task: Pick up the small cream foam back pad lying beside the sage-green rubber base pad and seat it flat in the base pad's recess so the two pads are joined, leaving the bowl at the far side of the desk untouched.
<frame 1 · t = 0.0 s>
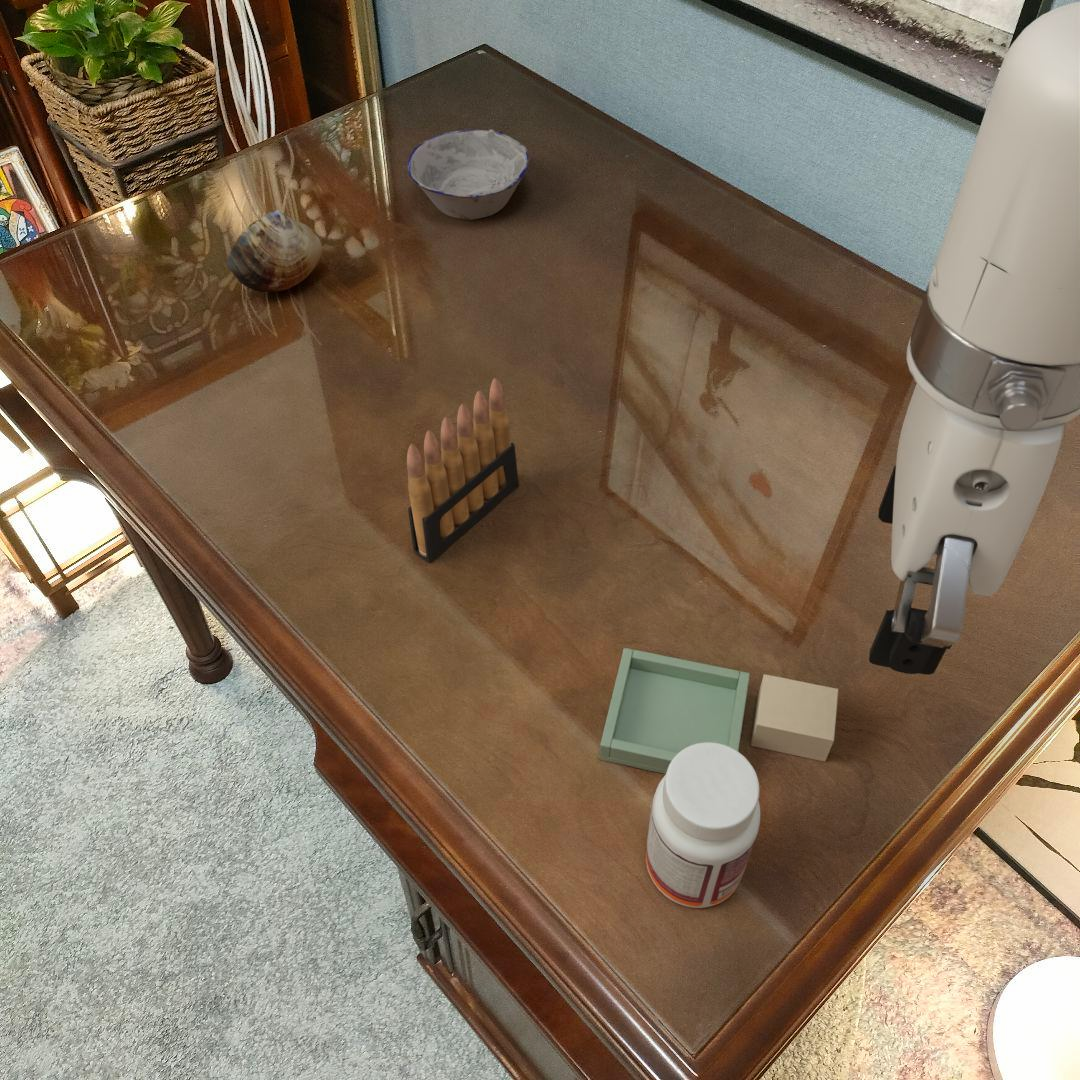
hand: (903, 589, 55), 18 cm above the table, tool pointing down, fingers open, 9 cm apart
ammunition clip: (467, 519, 83), on the table
pill bottle: (692, 863, 64), on the table
seashell: (284, 287, 103), on the table
bowl: (471, 200, 112), on the table
foam pad: (790, 728, 70), on the table
base pad: (674, 723, 71), on the table
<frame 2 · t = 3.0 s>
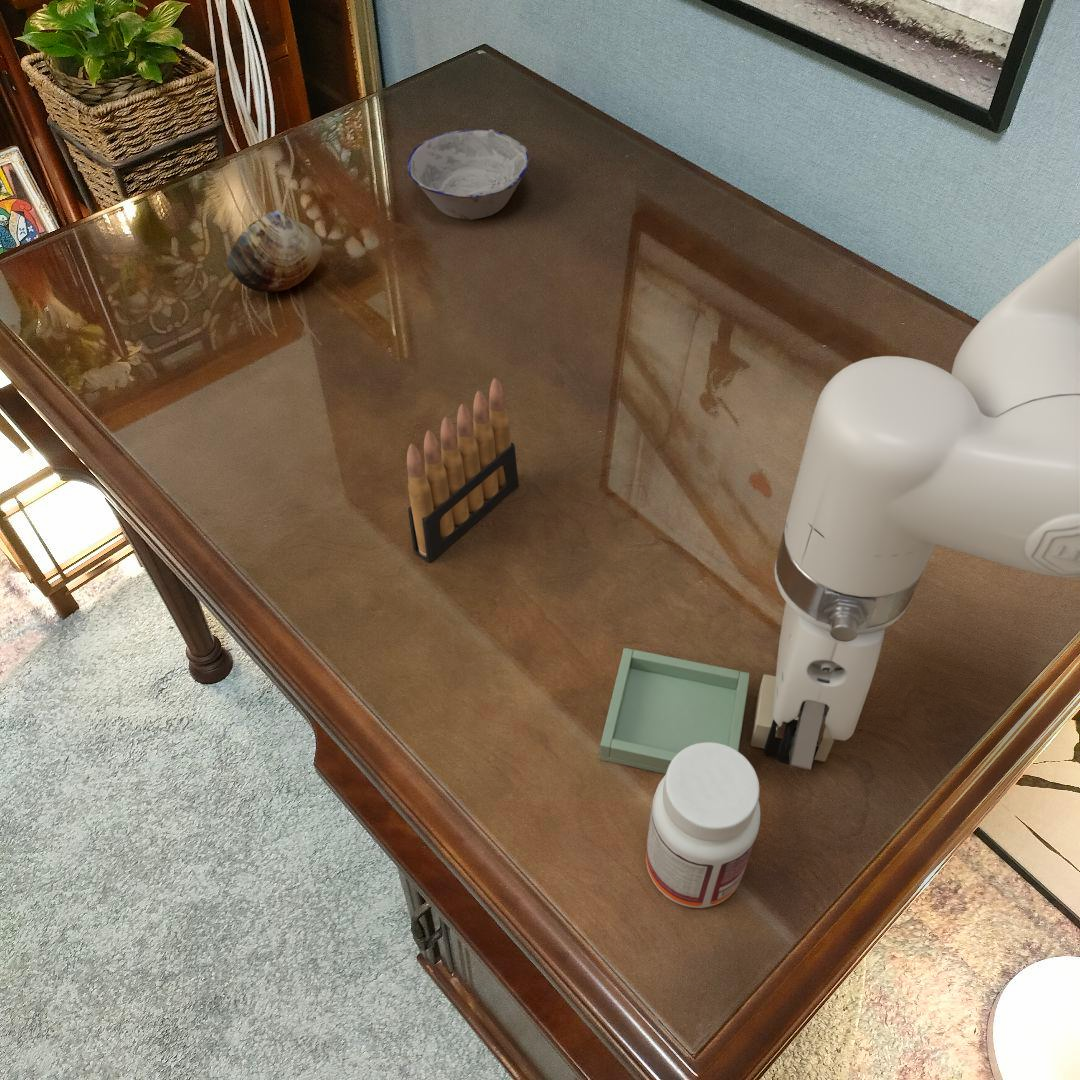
hand: (791, 724, 70), 1 cm above the table, tool pointing down, fingers closed on foam pad, 4 cm apart
foam pad: (790, 728, 70), on the table, touching gripper
everything else where it was.
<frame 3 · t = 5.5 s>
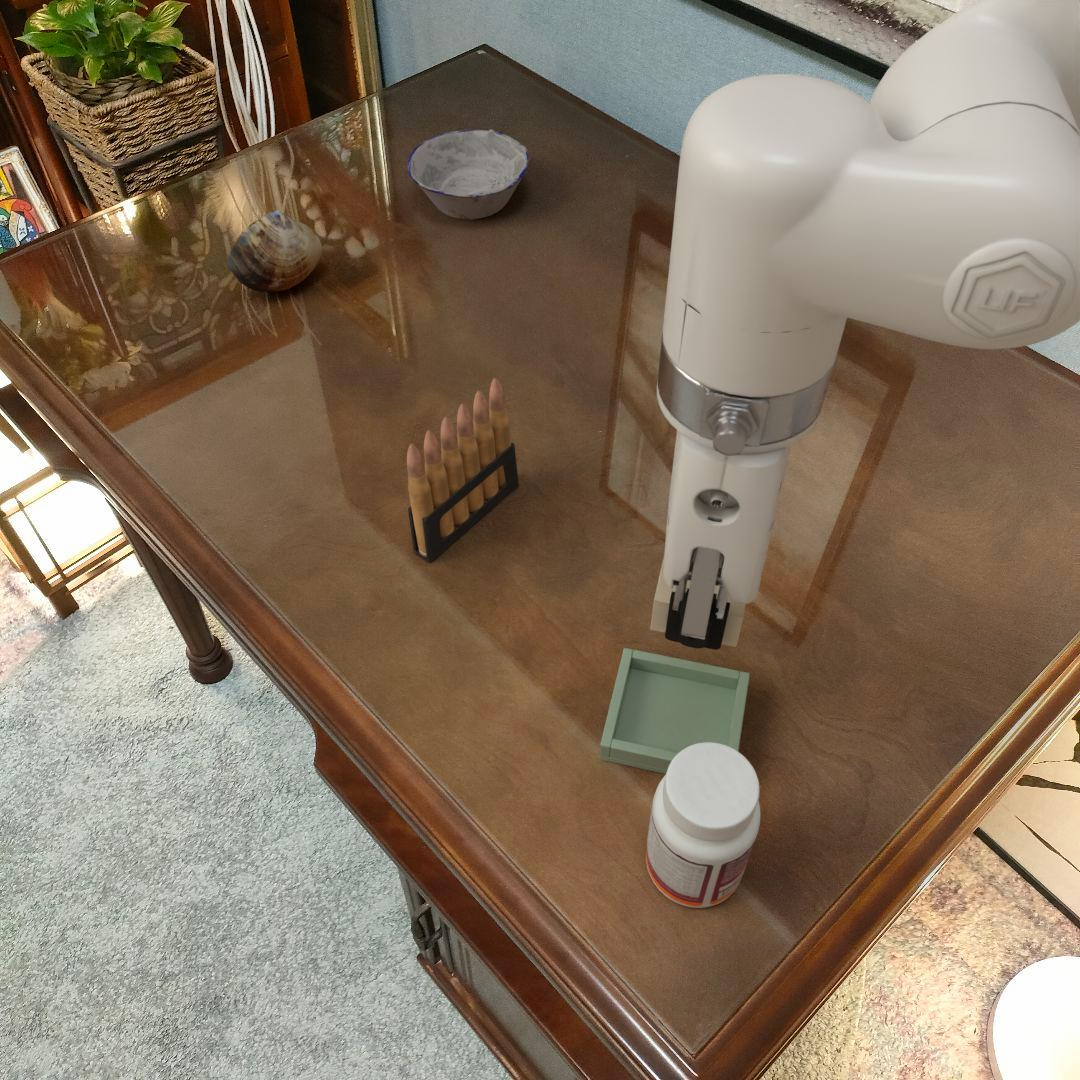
hand: (699, 606, 60), 14 cm above the table, tool pointing down, fingers closed on foam pad, 4 cm apart
foam pad: (698, 611, 60), point 13 cm above the table, touching gripper
everything else where it was.
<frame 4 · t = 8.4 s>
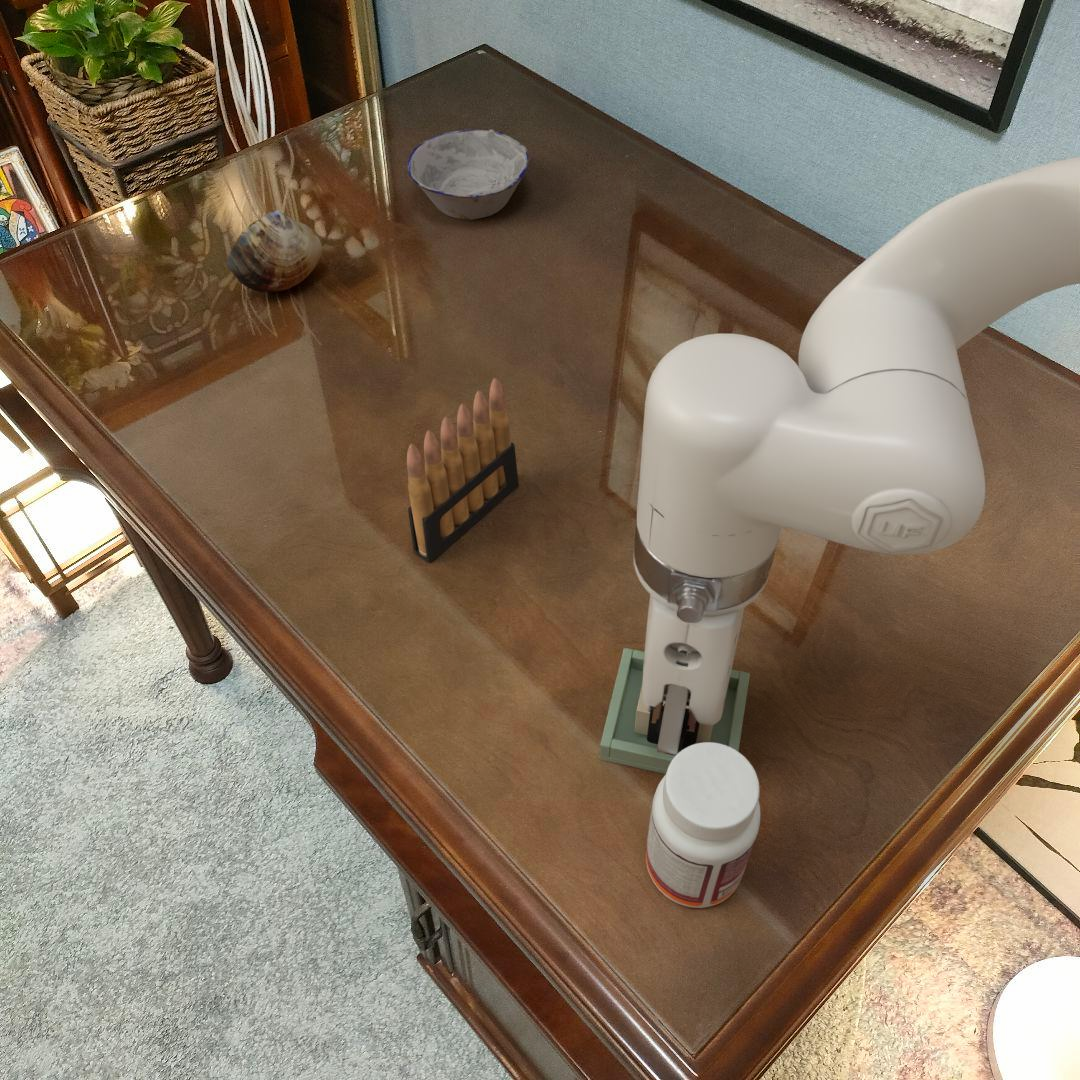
hand: (677, 711, 69), 2 cm above the table, tool pointing down, fingers closed on foam pad, 4 cm apart
foam pad: (675, 715, 70), point 1 cm above the table, touching gripper
everything else where it was.
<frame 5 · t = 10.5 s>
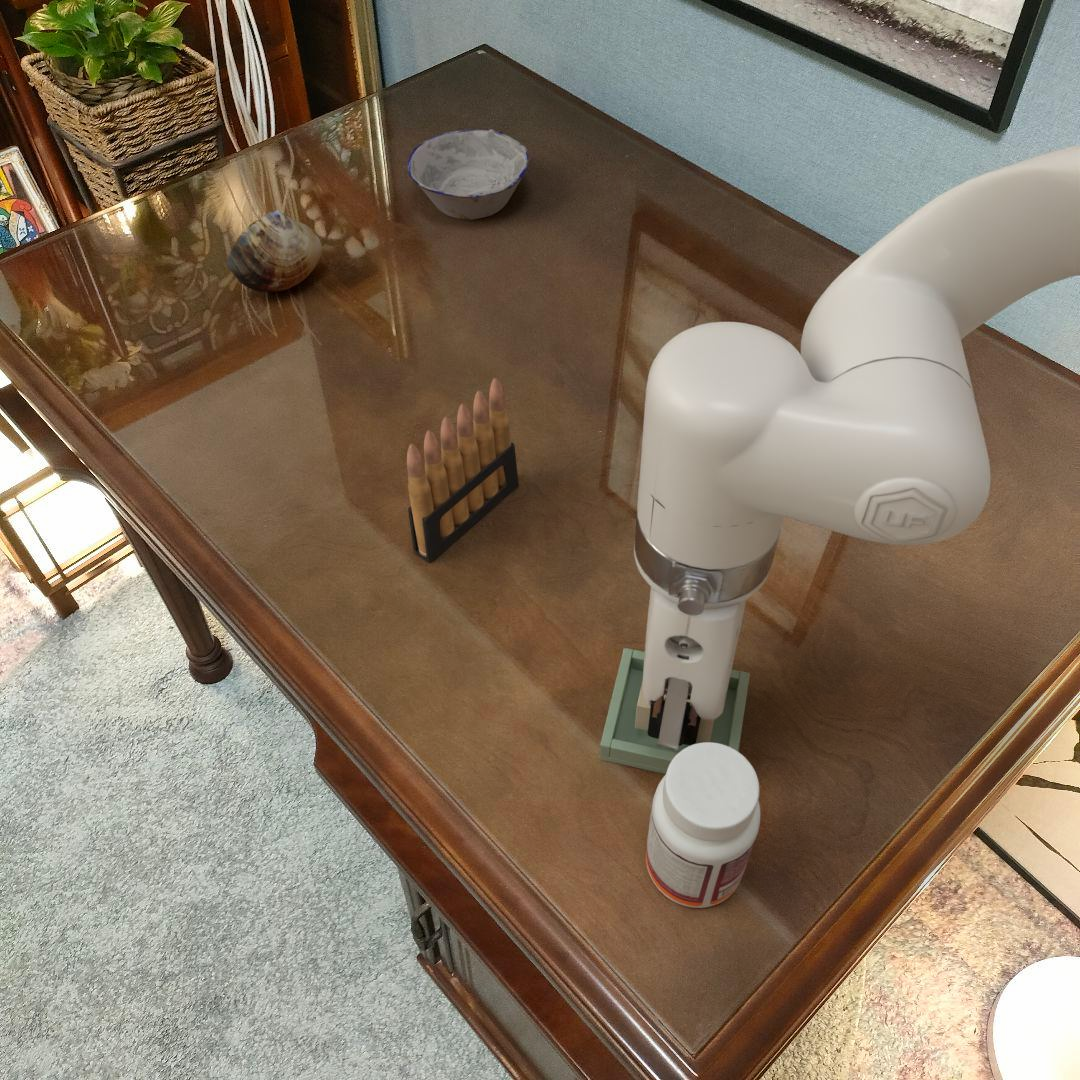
hand: (677, 706, 69), 2 cm above the table, tool pointing down, fingers closed on foam pad, 3 cm apart
foam pad: (676, 710, 69), point 2 cm above the table, touching gripper
everything else where it was.
when the fingers open (2 cm above the table, at t = 12.2 s): foam pad drops 1 cm, resting on base pad.
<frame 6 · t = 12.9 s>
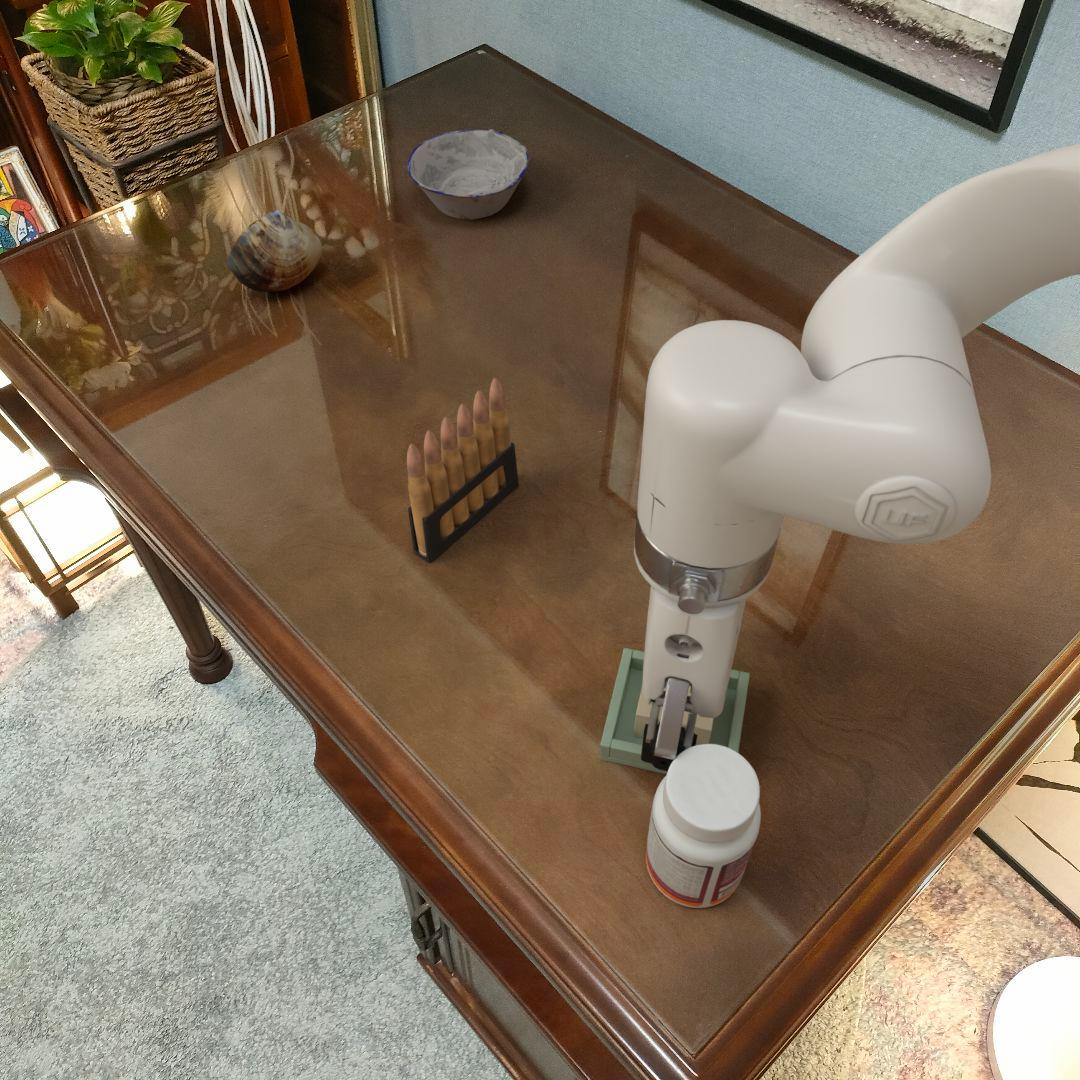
hand: (678, 697, 68), 3 cm above the table, tool pointing down, fingers open, 9 cm apart
pill bottle: (693, 863, 64), on the table, touching gripper
foam pad: (674, 718, 70), point 1 cm above the table, touching base pad
everything else where it was.
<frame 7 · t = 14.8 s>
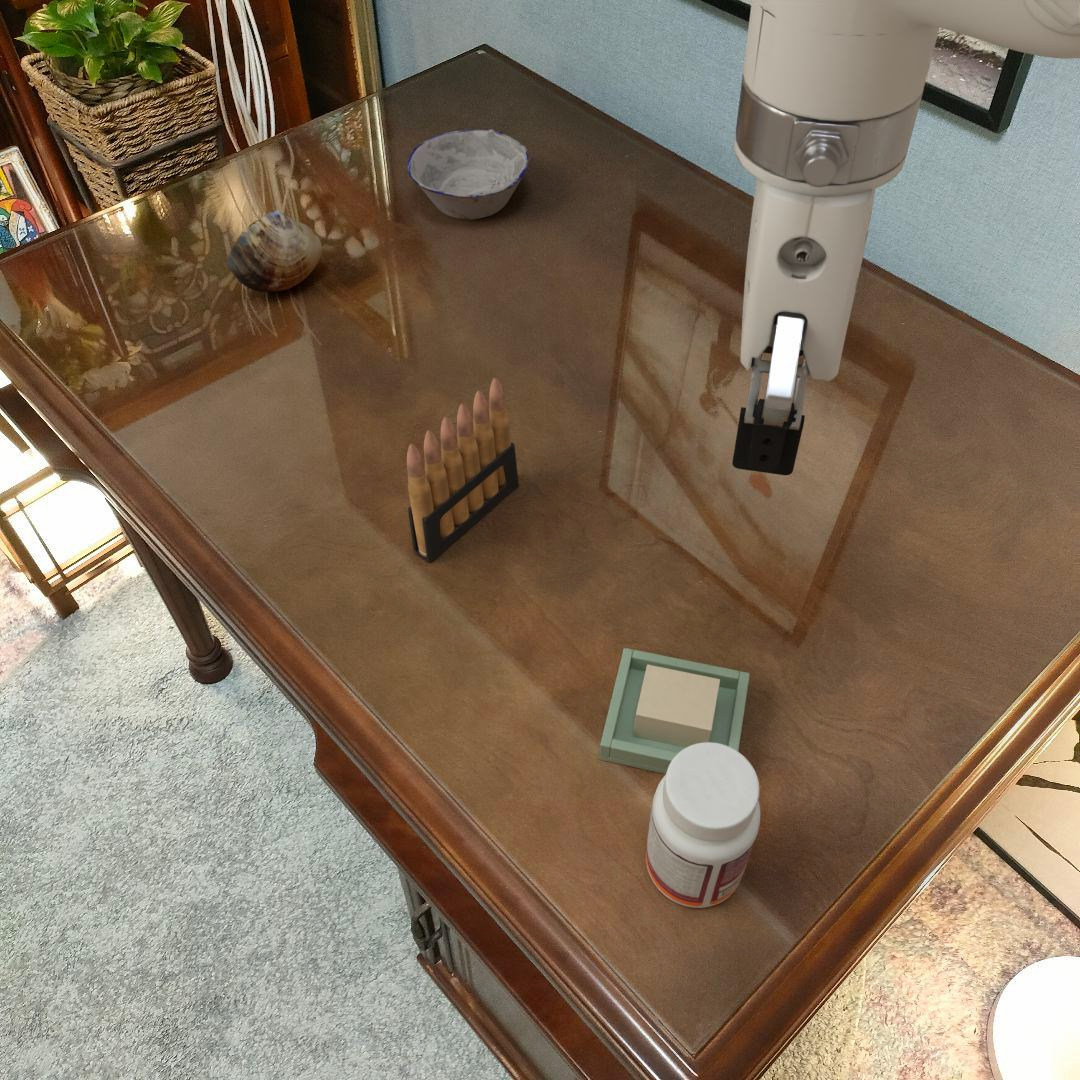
hand: (770, 406, 58), 23 cm above the table, tool pointing down, fingers open, 9 cm apart
pill bottle: (692, 863, 64), on the table
everything else where it was.
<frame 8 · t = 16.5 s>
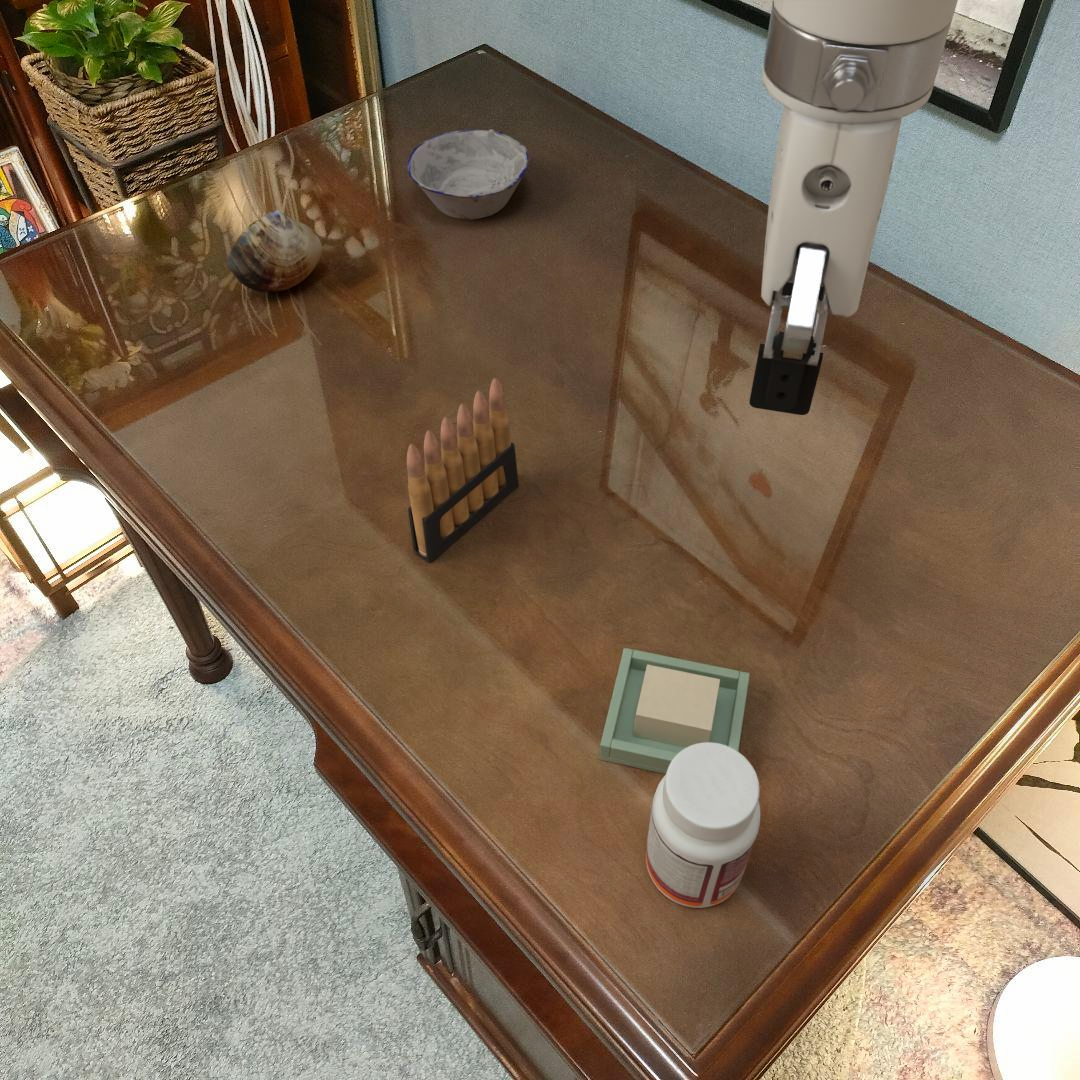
hand: (787, 350, 58), 24 cm above the table, tool pointing down, fingers open, 9 cm apart
nothing on the table moved.
at the end: foam pad 0.0 cm off-centre in the base pad, point 0.6 cm above the base pad's base; foam pad tilted 0°; bowl moved 0.2 cm from its start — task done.
